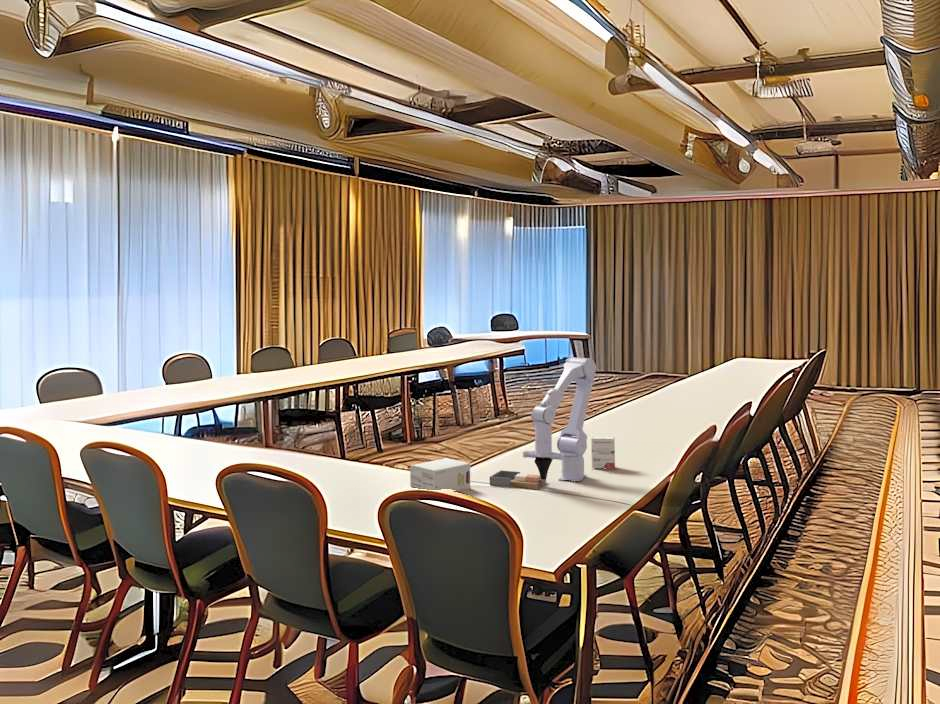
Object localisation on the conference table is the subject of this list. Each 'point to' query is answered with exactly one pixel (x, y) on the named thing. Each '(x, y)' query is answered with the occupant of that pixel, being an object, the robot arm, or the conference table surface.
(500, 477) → the slate tray
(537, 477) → the terracotta tile
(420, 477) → the supplement box
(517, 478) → the cream tile
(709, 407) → the conference table surface
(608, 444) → the ink box
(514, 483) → the walnut board
